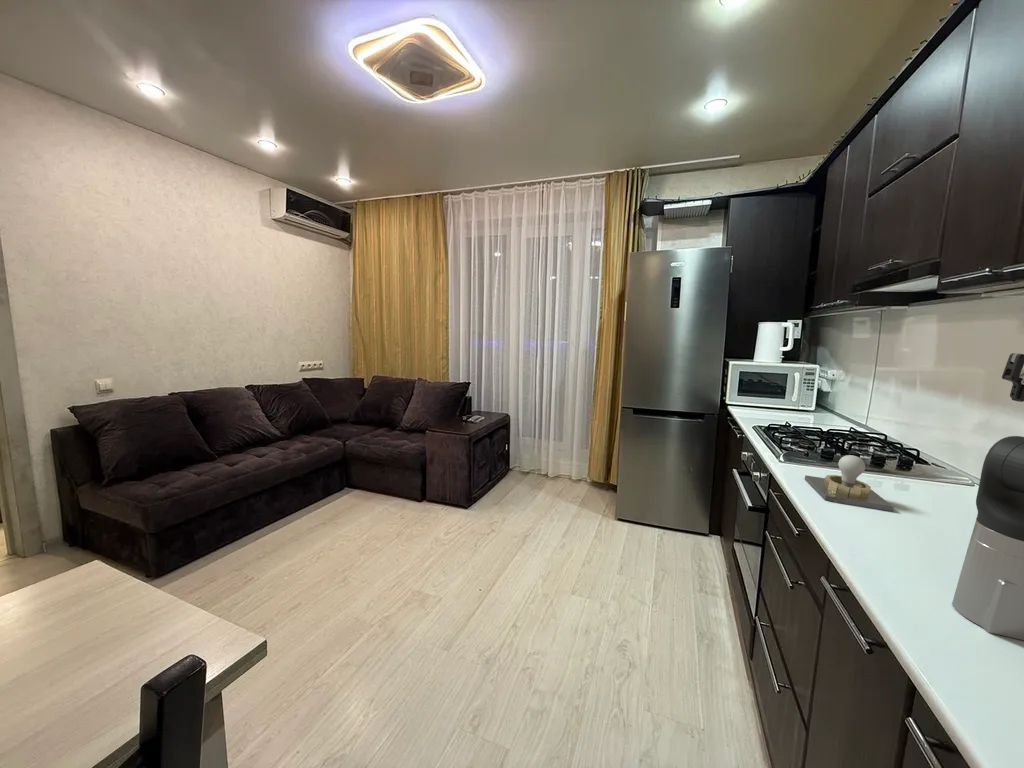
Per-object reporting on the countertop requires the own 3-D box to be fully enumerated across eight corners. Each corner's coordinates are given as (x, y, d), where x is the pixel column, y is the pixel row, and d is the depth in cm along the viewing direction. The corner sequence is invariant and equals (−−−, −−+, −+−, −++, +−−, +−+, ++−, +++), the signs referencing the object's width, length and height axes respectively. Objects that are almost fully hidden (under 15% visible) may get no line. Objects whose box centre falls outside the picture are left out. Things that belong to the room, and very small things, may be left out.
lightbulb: (851, 486, 122) (858, 453, 120) (864, 495, 116) (872, 460, 114) (829, 484, 123) (836, 451, 121) (841, 492, 117) (848, 458, 115)
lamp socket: (892, 511, 110) (895, 498, 109) (824, 500, 115) (827, 487, 114) (863, 488, 125) (866, 476, 124) (804, 479, 130) (806, 468, 129)
